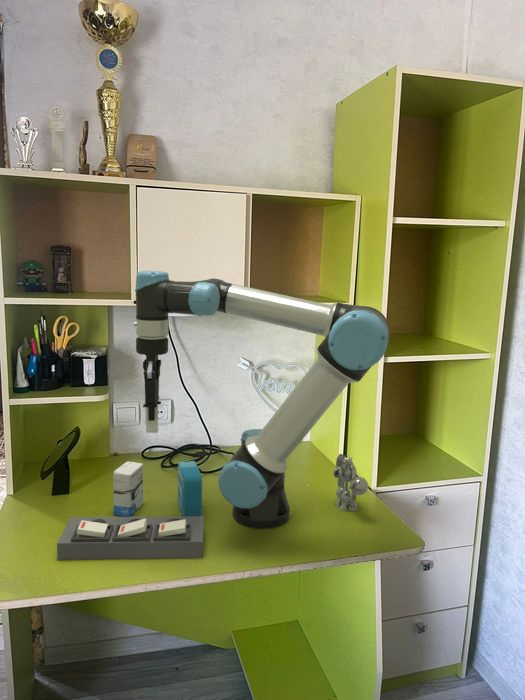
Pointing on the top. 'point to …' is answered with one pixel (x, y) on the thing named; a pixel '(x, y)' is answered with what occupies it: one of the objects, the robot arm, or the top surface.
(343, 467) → the robot toy
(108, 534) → the rocker switch panel
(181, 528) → the rocker
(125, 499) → the ink box
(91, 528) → the rocker
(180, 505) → the data package
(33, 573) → the top surface
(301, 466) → the top surface
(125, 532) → the middle rocker
